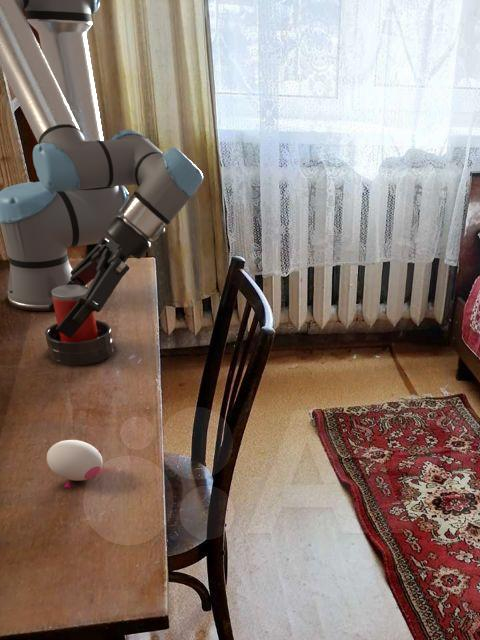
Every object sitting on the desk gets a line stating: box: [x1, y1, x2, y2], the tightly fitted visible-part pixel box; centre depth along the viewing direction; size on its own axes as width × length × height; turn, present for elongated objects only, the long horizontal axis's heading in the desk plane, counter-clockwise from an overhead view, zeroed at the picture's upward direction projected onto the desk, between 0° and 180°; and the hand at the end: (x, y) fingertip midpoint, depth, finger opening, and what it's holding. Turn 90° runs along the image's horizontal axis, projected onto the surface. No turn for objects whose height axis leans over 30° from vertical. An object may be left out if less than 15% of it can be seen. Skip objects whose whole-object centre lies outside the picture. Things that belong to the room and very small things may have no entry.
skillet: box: [44, 319, 115, 367], centre depth 125 cm, size 11×11×4 cm
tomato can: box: [52, 285, 98, 342], centre depth 123 cm, size 7×7×12 cm
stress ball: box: [46, 439, 104, 489], centre depth 93 cm, size 8×8×7 cm
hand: (58, 322), depth 121 cm, fingers open, 10 cm apart
